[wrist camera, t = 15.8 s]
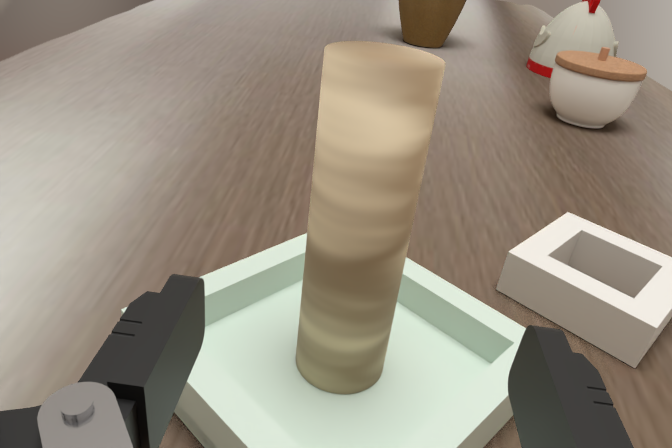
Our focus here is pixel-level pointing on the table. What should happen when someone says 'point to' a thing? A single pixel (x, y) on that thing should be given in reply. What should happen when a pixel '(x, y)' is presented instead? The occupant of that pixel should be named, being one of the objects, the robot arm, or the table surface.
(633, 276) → the holder block
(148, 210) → the table surface
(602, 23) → the chicken shaped dome
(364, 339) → the dowel
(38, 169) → the table surface
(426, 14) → the plant pot
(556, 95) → the lidded jar
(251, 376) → the tray
